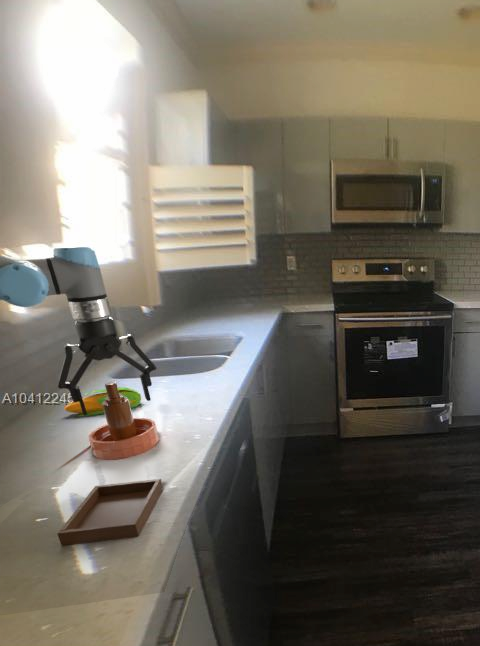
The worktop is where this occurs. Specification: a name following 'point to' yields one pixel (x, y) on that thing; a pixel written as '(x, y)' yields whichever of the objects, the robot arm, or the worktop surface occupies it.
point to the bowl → (124, 441)
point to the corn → (95, 401)
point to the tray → (112, 512)
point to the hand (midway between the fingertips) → (117, 406)
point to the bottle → (118, 414)
